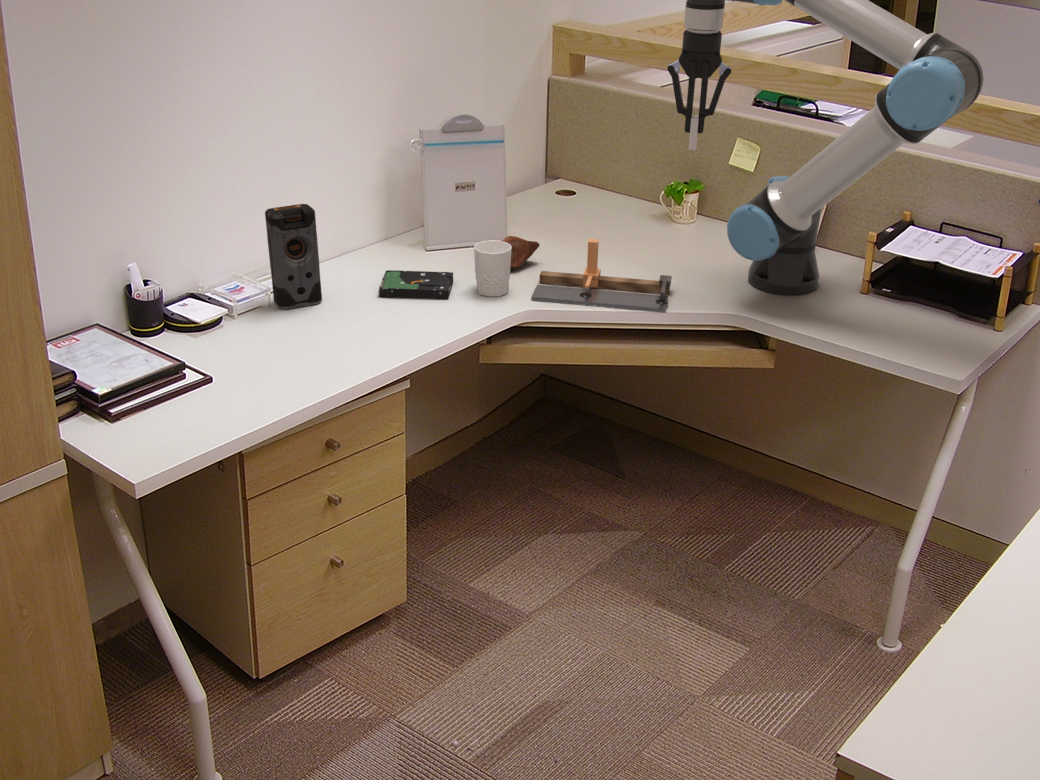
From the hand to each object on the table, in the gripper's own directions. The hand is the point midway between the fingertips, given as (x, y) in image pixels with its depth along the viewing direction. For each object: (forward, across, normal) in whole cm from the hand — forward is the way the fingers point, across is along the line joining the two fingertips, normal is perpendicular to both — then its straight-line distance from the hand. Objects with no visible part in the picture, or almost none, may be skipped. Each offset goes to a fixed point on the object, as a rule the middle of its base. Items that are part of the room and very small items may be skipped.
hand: (692, 148), depth 223 cm
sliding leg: (+29, +19, +10) cm, 36 cm away
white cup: (+30, +39, +15) cm, 51 cm away
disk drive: (+30, +55, +18) cm, 65 cm away
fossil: (+30, +38, 0) cm, 48 cm away
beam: (+29, +16, +11) cm, 35 cm away
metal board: (+29, +16, +15) cm, 37 cm away
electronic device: (+30, +77, +30) cm, 88 cm away
